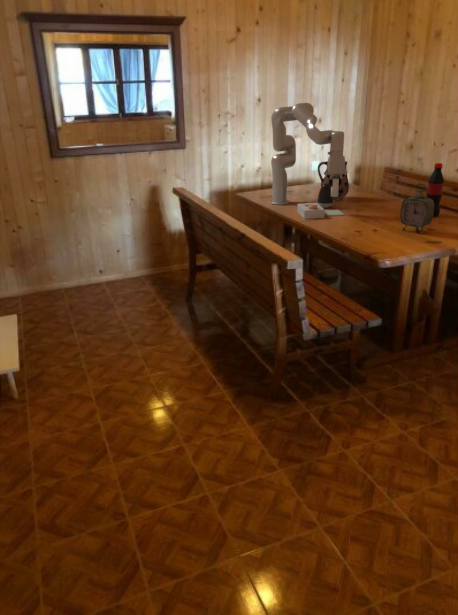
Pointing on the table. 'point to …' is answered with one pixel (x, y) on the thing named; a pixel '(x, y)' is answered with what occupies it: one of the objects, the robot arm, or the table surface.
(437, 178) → the cola bottle
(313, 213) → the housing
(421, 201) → the tabletop clock
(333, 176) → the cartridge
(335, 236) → the table surface
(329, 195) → the pump dispenser
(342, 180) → the ceramic pitcher
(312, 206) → the plunger
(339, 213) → the mat
